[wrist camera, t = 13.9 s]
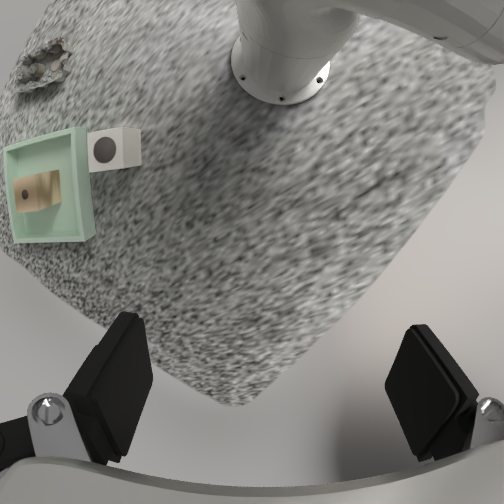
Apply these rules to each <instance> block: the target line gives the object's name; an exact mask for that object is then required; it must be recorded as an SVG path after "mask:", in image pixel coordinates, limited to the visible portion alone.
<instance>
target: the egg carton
mask: <svg viewBox="0 0 504 504" xmlns="http://www.w3.org/2000/svg"><path fill="white" fill-rule="evenodd" d="M62 49H63V50H64V51H65V52H63V53H62V55H61V57H60V59H56V60H54V61H53V62H52V64H51V67H50V69H51V71H52V72H55V71H57V70H58V69H59V67H60V66H61V64H63V65H64V67H63V69H61V70H60V71H58V72H57V75H56V77H52V76H46V77H42V79H41V81H40V83H39V82H34V81H30V82H28V81H29V80H30V79H31V76H33V77H41V76H43V74H44V73H45V70H46V66H45V65H43V64H40V63H36V62H35V63H34V64H32V65H31V67H30V69H29V70H28V67H29V65H30V64H31V63H32V62H33V60H34V58H36V59H40V60H42V59H44V58H45V57H46V55H47V54H48V52H51V53H55V54H57V53H59V52H60V51H61V50H62ZM72 53H73V48H72V47H70V46H69V45H68V44H67V43H65V42H64V38H61V37H60V38H56V39H54V40H51V41H50V42H48V43H47V44H44V45H43V46H41V47H38V48H36V49H34V50H33V51H32V52H31V53H29V54H28V55H27V56H23V57H22V58H21V59H20V61H21V64H20V67H18V73H17V77H16V80H15V82H16V85H15V88H14V91H13V93H19V92H27V93H32V92H34V89H35V88H37V87H43V88H45V87H48V86H49V83H51V82H53V81H55V82H63V81H64V80H65V77H66V75H67V74H69V73H70V71H71V66H68V65H67V64H66V61H67V58H68V57H69V56H70V55H71V54H72ZM27 82H28V83H27ZM26 84H27V85H26Z"/></svg>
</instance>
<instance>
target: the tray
mask: <svg viewBox="0 0 504 504" xmlns="http://www.w3.org/2000/svg"><path fill="white" fill-rule="evenodd" d="M87 133H88V127H72V128H68V129H63V130H60V131H56V132H52V133H48V134H45V135H41V136H38V137H34V138H31V139H28V140H24V141H21V142H18V143H15V144H12V145H9V146H6V147H3V158H4V175H5V186H6V196H7V204H8V211H9V218H10V224H11V230H12V235H13V240H14V243H44V242H84V241H87V240H88V239H90V238H91V237H93V236H94V235H96V228H95V221H94V213H93V204H92V194H91V183H90V173H89V166H88V145H87ZM53 170H59V174H60V186H61V196H62V202H60V203H58V204H55V205H52V206H50V207H47V208H44V209H42V210H39V211H31V212H23V213H17V211H16V203H15V195H14V186H13V179H16V178H20V177H25V176H29V175H34V174H38V173H43V172H48V171H53Z"/></svg>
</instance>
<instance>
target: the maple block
mask: <svg viewBox="0 0 504 504" xmlns="http://www.w3.org/2000/svg"><path fill="white" fill-rule="evenodd" d="M13 186H14V195H15V203H16V211H17V213H23V212H31V211H39V210H42V209H44V208H47V207H50V206H52V205H55V204H58V203H60V202H62V196H61V186H60V174H59V170H53V171H48V172H43V173H38V174H34V175H29V176H25V177H20V178H16V179H13Z"/></svg>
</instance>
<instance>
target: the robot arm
mask: <svg viewBox="0 0 504 504" xmlns="http://www.w3.org/2000/svg"><path fill="white" fill-rule="evenodd" d="M236 5H237V13H238V20H239V28H240V35H239V37H238V38H237V40H236V41H235V43H234V46H233V48H232V52H231V66H232V70H233V73H234V76H235V78H236V80H237V82H238V83H239V84H240V86H241V87H242V88H243V89H244V90H245V91H246V92H247V93H248V94H250V95H251V96H253V97H254V98H256V99H258V100H261V101H263V102H265V103H270V104H274V105H293V104H297V103H300V102H303V101H305V100H307V99H309V98H311V97H312V96H314V95H315V94H316V93H317V92H318V91H319V90H320V89H321V88H322V87H323V86H324V84H325V83H326V81H327V78H328V76H329V72H330V60H331V59H332V58H333V57H334V55H335V54H336V53H337V52H338V51H339V50H340V49H341V48H342V47H343V46H344V45H345V43H346V42H347V41H348V40H349V39H350V38H351V36H352V35H353V34H354V32H355V30H356V29H357V26H358V23H359V19H360V14H362V15H365V16H368V17H371V18H374V19H380V20H383V21H386V22H388V23H391V24H394V25H396V26H399V27H401V28H404V29H406V30H408V31H411V32H413V33H415V34H417V35H420V36H422V37H424V38H426V39H428V40H430V41H432V42H434V43H436V44H438V45H441V46H443V47H445V48H446V49H448V50H450V51H452V52H454V53H456V54H458V55H460V56H462V57H464V58H466V59H469V60H471V61H474V62H478V63H481V64H488V65H497V64H503V63H504V0H236ZM241 78H245V80H244V81H243V80H241ZM317 80H319V81H320V83H317ZM280 98H283V101H280ZM152 381H153V373H152V368H151V363H150V357H149V351H148V345H147V339H146V333H145V326H144V320H143V319H142V318H139V315H138V314H137V313H130V312H121V313H120V314H119V315H118V317H117V318H116V319H115V321H114V322H113V324H112V325H111V327H110V328H109V329H108V331H107V332H106V334H105V335H104V337H103V338H102V340H101V341H100V342H99V344H98V345H96V346H95V347H94V348H93V349H92V351H91V352H90V354H89V355H88V357H87V358H86V360H85V361H84V363H83V365H82V366H81V368H80V369H79V370H78V372H77V374H76V375H75V377H74V378H73V380H72V381H71V383H70V384H69V387H68V388H67V389H66V391H65V392H64V394H63V396H61V395H59V394H56V393H44V394H42V395H39V396H38V397H36V398H35V399H34V400H32V402H31V403H30V404H29V406H28V409H27V416H24V417H21V418H18V419H14V420H11V421H7V422H4V423H0V504H504V405H503V404H502V403H501V402H500V401H499V400H497V399H495V398H490V397H487V398H483V399H481V400H480V401H479V402H478V403H477V401H476V399H477V397H478V396H479V393H478V392H477V390H476V389H475V387H474V386H473V384H472V383H471V382H470V380H469V379H468V377H467V376H466V375H465V373H464V372H463V371H462V369H461V368H460V367H459V366H458V364H457V363H456V361H455V360H454V359H453V357H452V356H451V355H450V353H449V352H448V351H447V350H446V348H445V347H444V346H443V344H442V343H441V342H440V341H439V339H438V338H437V337H436V336H435V334H434V333H433V332H432V331H431V329H430V328H429V327H428V326H427V325H425V324H423V325H412V326H411V327H410V329H408V330H407V331H406V332H405V335H404V338H403V340H402V343H401V346H400V349H399V351H398V353H397V356H396V358H395V361H394V363H393V365H392V368H391V370H390V372H389V375H388V377H387V379H386V382H385V390H386V393H387V395H388V397H389V399H390V401H391V404H392V406H393V408H394V411H395V413H396V415H397V418H398V420H399V422H400V425H401V427H402V429H403V432H404V434H405V436H406V439H407V441H408V444H409V446H410V449H411V451H412V453H413V455H415V456H417V459H418V461H419V462H421V461H424V460H427V459H431V458H432V456H433V457H434V462H431V463H427V464H424V465H421V466H417V467H414V468H410V469H406V470H402V471H398V472H394V473H390V474H385V475H380V476H375V477H370V478H365V479H359V480H353V481H346V482H339V483H331V484H321V485H310V486H295V487H237V486H222V485H221V486H220V485H210V484H201V483H192V482H185V481H179V480H172V479H166V478H160V477H155V476H149V475H144V474H140V473H135V472H131V471H126V470H123V469H118V468H114V467H109V466H106V465H107V463H108V460H110V461H113V462H117V463H119V462H120V459H121V456H126V455H127V453H128V450H129V448H130V444H131V442H132V439H133V436H134V433H135V430H136V427H137V424H138V421H139V419H140V416H141V413H142V410H143V407H144V405H145V402H146V399H147V397H148V394H149V391H150V389H151V386H152Z"/></svg>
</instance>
